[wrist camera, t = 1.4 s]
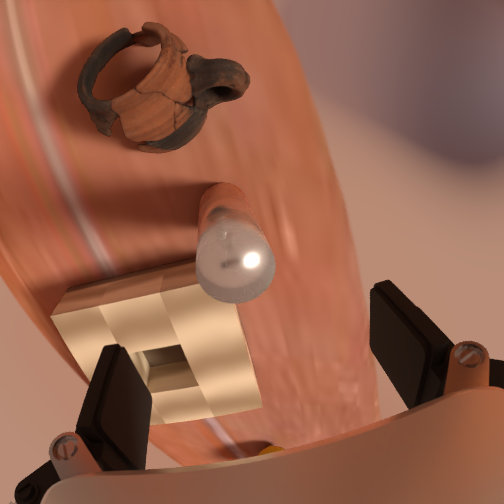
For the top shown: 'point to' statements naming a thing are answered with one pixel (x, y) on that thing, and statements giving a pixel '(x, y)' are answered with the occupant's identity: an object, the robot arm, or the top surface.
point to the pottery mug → (161, 90)
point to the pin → (231, 247)
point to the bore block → (165, 340)
